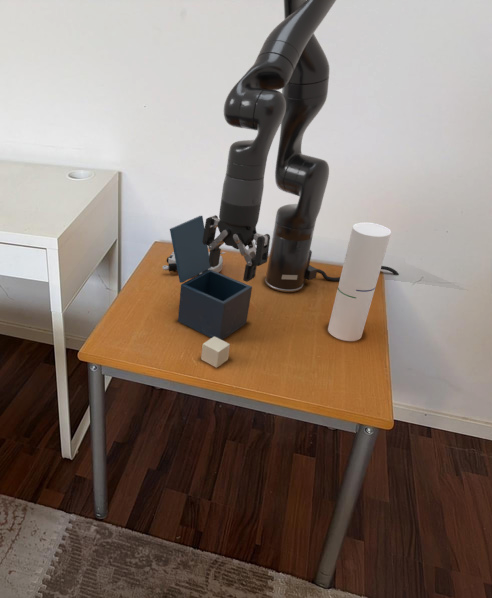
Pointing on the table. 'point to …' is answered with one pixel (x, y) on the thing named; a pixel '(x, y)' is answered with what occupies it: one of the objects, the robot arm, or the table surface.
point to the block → (215, 351)
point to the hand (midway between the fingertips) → (230, 272)
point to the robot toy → (218, 268)
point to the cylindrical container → (358, 280)
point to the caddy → (214, 304)
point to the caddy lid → (190, 248)
